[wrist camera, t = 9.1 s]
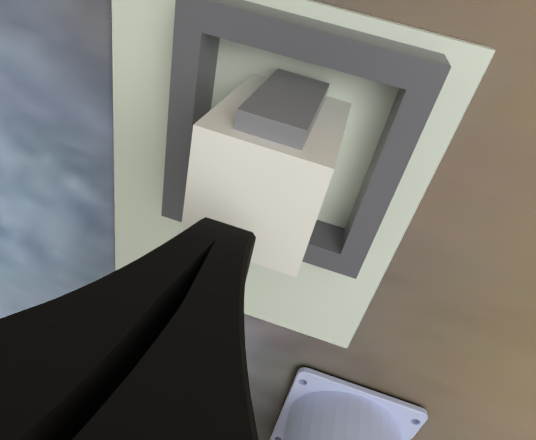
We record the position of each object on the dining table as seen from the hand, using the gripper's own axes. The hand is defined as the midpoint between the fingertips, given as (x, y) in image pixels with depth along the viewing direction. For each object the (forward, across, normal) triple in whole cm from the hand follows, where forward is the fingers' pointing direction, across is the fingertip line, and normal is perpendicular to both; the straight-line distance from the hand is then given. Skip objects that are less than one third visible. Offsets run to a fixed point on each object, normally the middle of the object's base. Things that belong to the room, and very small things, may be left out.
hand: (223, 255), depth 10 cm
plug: (+8, 0, 0) cm, 8 cm away
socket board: (+9, +1, +3) cm, 9 cm away
